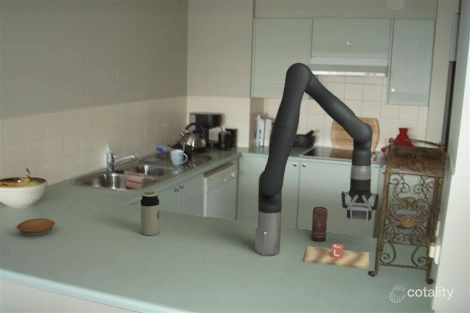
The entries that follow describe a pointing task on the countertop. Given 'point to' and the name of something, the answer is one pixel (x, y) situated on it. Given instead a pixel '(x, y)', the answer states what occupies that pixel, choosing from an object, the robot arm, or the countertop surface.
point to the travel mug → (150, 213)
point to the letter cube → (337, 251)
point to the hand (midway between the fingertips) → (358, 219)
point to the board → (347, 259)
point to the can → (319, 224)
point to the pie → (36, 227)
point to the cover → (359, 212)
